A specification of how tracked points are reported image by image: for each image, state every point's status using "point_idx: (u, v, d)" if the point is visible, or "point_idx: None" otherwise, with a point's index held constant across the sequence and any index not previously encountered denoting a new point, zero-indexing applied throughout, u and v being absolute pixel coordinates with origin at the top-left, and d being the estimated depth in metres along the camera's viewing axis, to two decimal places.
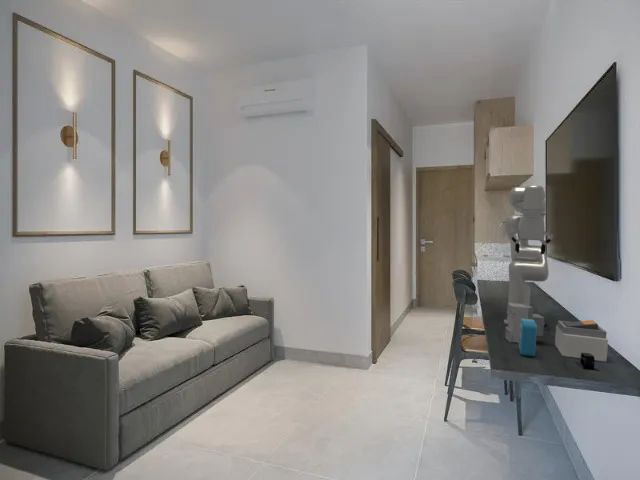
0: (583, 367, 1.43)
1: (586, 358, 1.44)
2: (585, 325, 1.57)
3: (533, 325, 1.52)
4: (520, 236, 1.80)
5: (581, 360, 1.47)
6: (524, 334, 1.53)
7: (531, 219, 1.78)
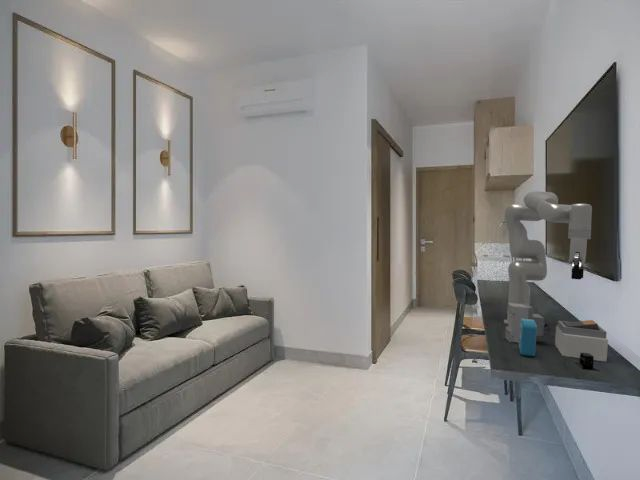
0: (582, 367, 1.43)
1: (585, 358, 1.44)
2: (585, 325, 1.57)
3: (533, 325, 1.52)
4: (583, 260, 1.59)
5: (580, 360, 1.47)
6: (524, 334, 1.53)
7: (586, 241, 1.62)
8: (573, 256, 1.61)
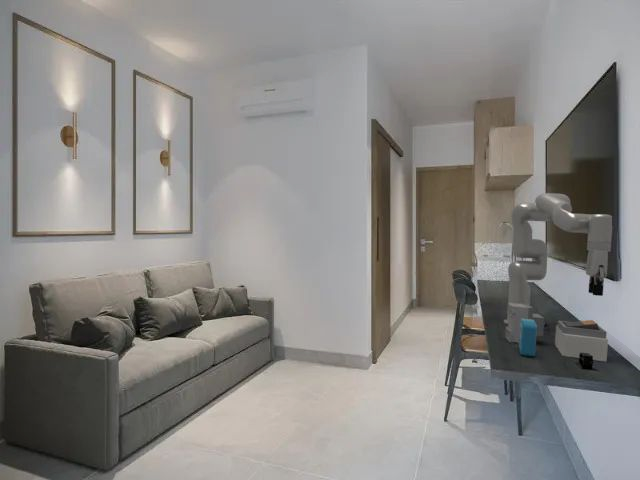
0: (581, 367, 1.43)
1: (584, 358, 1.44)
2: (585, 325, 1.57)
3: (533, 325, 1.52)
4: None
5: (580, 360, 1.48)
6: (524, 334, 1.53)
7: None
8: (597, 269, 1.54)
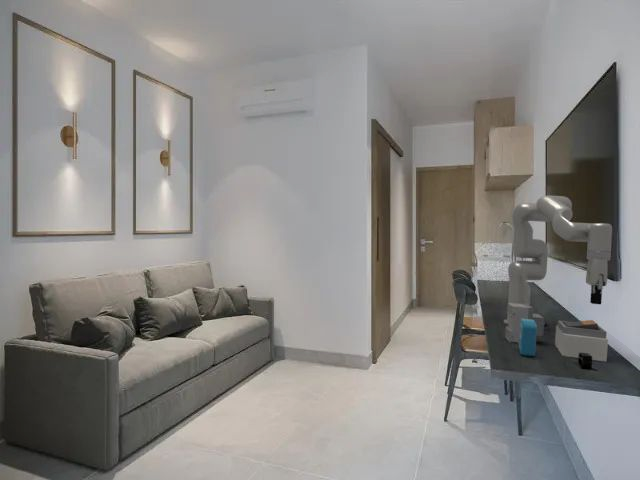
0: (581, 367, 1.43)
1: (584, 358, 1.44)
2: (585, 325, 1.57)
3: (533, 325, 1.52)
4: None
5: (579, 360, 1.48)
6: (524, 334, 1.53)
7: None
8: (597, 278, 1.54)
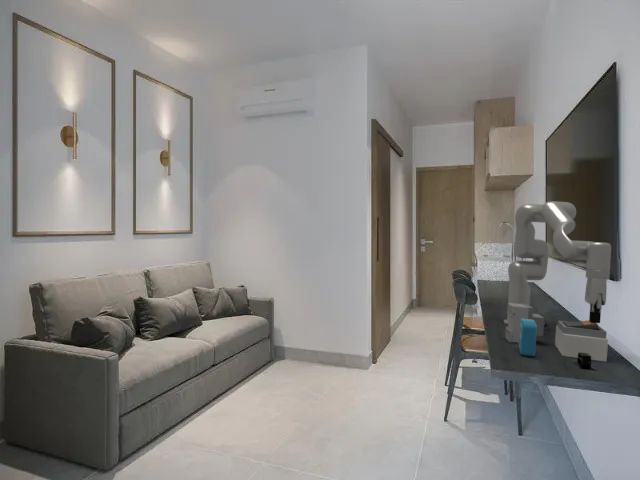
0: (580, 367, 1.43)
1: (583, 358, 1.44)
2: (585, 325, 1.57)
3: (533, 325, 1.52)
4: (605, 302, 1.54)
5: (578, 360, 1.48)
6: (524, 334, 1.53)
7: None
8: (596, 298, 1.54)
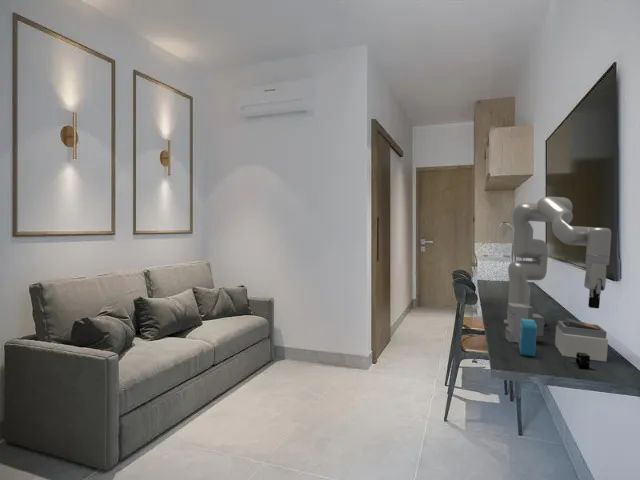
0: (578, 367, 1.43)
1: (581, 358, 1.44)
2: (587, 326, 1.57)
3: (533, 325, 1.52)
4: (604, 287, 1.54)
5: (577, 360, 1.48)
6: (524, 334, 1.53)
7: None
8: (595, 283, 1.54)
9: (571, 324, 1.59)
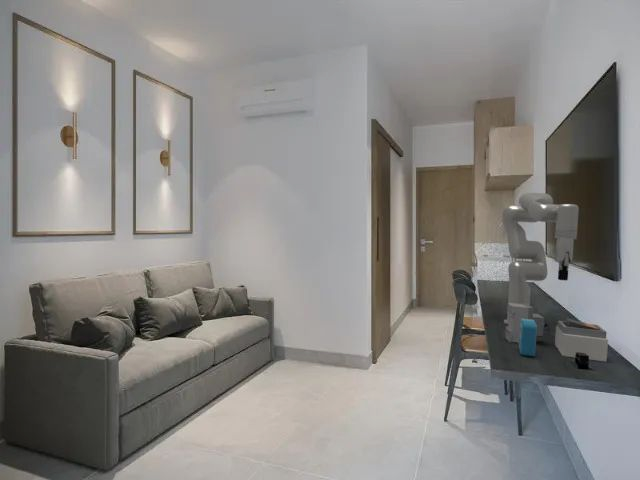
0: (577, 367, 1.43)
1: (580, 358, 1.44)
2: (587, 326, 1.57)
3: (533, 325, 1.52)
4: None
5: (576, 360, 1.48)
6: (524, 334, 1.53)
7: None
8: (563, 256, 1.64)
9: (571, 324, 1.59)
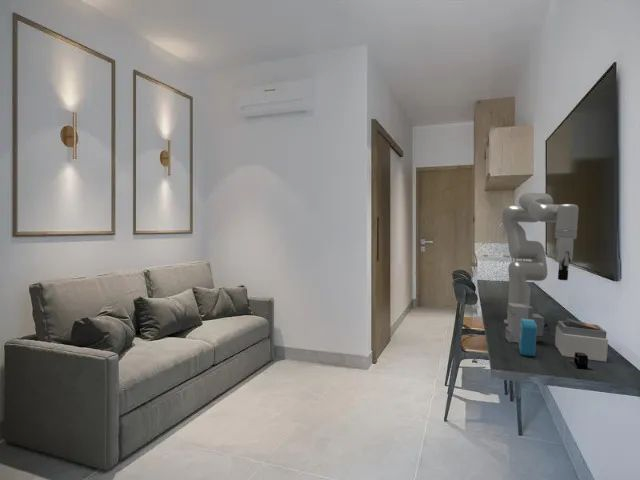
0: (576, 366, 1.43)
1: (580, 357, 1.44)
2: (587, 326, 1.57)
3: (533, 325, 1.52)
4: None
5: (575, 359, 1.48)
6: (524, 334, 1.53)
7: None
8: (563, 256, 1.64)
9: (571, 324, 1.59)
